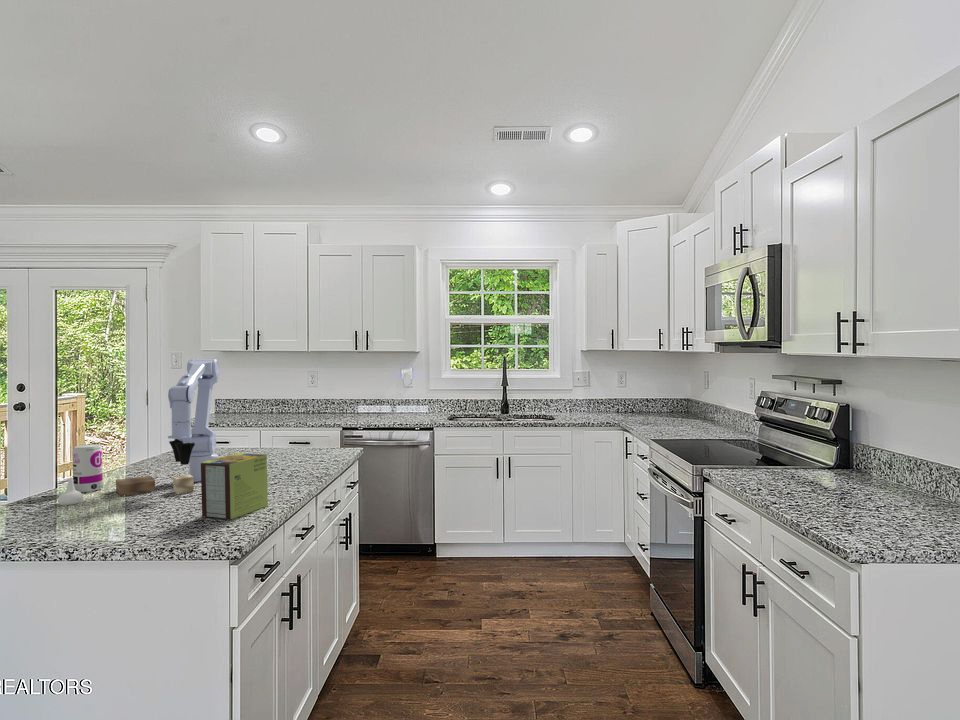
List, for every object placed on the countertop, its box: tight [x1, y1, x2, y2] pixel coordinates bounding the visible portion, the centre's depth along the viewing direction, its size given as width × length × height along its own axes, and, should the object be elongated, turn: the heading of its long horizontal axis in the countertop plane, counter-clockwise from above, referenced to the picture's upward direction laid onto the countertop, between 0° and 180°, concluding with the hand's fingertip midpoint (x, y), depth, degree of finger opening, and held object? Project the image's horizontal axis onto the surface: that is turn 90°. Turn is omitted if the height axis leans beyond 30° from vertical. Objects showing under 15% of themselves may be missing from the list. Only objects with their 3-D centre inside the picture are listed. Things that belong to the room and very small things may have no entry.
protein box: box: [200, 452, 269, 521], centre depth 165 cm, size 10×15×16 cm
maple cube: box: [172, 474, 195, 495], centre depth 189 cm, size 5×5×5 cm
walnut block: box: [115, 475, 156, 497], centre depth 191 cm, size 10×10×4 cm
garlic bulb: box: [57, 477, 84, 506], centre depth 177 cm, size 6×6×8 cm
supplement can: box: [72, 443, 104, 493], centre depth 193 cm, size 8×8×15 cm
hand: (182, 462), depth 189 cm, fingers open, 7 cm apart
